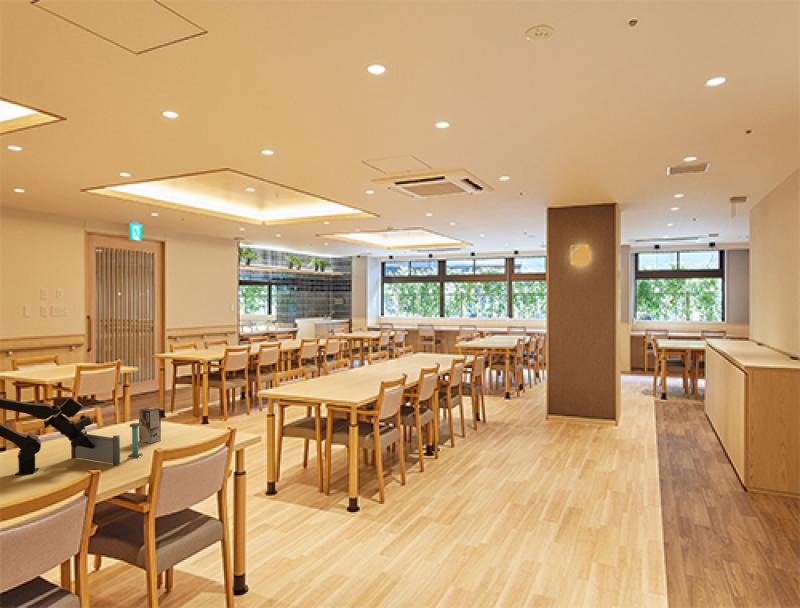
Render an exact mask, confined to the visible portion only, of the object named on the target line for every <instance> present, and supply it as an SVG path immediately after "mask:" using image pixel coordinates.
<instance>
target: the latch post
mask: <svg viewBox="0 0 800 608" xmlns="http://www.w3.org/2000/svg"><path fill="white" fill-rule="evenodd" d="M139 426H140V423H139V422H133V423H130V424H129V428H131V436H132V437H131V438H132V439H131V442H132V443H131V445H132V446H131V448H132V449H131V451H132V452H131V453H130V454H128V455H127V457H139V456H141V455H142V456H143V453H140V452H139ZM142 456H141V457H142ZM139 458H140V457H139Z"/></svg>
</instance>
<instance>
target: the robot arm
mask: <svg viewBox="0 0 800 608" xmlns="http://www.w3.org/2000/svg"><path fill="white" fill-rule="evenodd" d="M83 408H84V405H83V404H81V403H80V402H79V401H78V400H75V399H74V398H72V397H71V396H70V397H68V398H67V400H66V401H65V402H64V403H63V404H61V405H52V404H50V403H46V402H31V403H30V402H26V401H25V402H24V401H20V400H13V399H8V398H3V397H0V410H6V411H10V412H17V413H23V414H27V415H29V416H31V417H34V418H37V419H39V420H43V423H44V425H43V426H44V429H46V428H48V427H49V426H51V427H52V428H53V429H55V430H56V431H58V432H59V433H60V435H61V436H65V437H66V438H67V439H68V441H70V447H71V446H72V447H74V448H76V447H77V446H81V447H86V448H91V449H94V448H95V446H94V445H93V444H92V442H91V441H90V440H89V439H88V437H87V434H88V432H87V430H86V427H87V426H90V425H92V424H93V420H92V419H91V417H90V416H89V415H85V414H82V415H81V416H79V419H78V420H76V421H74V420H70V419H69V418H74V417H75V416H76V415H77V414H78V413H79V412H80V411H82V409H83ZM83 430H85V431H84V432H83ZM0 438H3V439H5V440H6V441H9V442H11V443H13V444H14V445H15V446H16V447H17V448H19V450H18V454H17V458H18V463H17V464H18V471H16V472H15V473H14V475H15V476H21V474H23V475H32V474H34V473H36V472H38V470H39V467H36V454H37V453H39V452H40V450H41V447H42V441H41V439H40V438H39V436H37V435H34V433H31V432H28V433H27V434H23V433H20V432H18V431H16V430H15V429H12V428H11V427H8V426H7V425H5V424H2V423H1V422H0Z"/></svg>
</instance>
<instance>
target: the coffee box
mask: <svg viewBox="0 0 800 608" xmlns="http://www.w3.org/2000/svg"><path fill="white" fill-rule="evenodd" d="M161 416H162V415H161V408H158V407H157V408H156V407H150V406H149V407H143V408H140V409H138V423H140V426H138V442H141V441H142V442H141V443H146V442H148V443H147V444H153V442H154V443H156V442H160V441H162V429H161V428H162V427H161V423H162V422H161V420H162V418H161Z"/></svg>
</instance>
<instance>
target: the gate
mask: <svg viewBox="0 0 800 608" xmlns="http://www.w3.org/2000/svg"><path fill="white" fill-rule="evenodd" d="M87 437H88V439H89V440H90V441H91V442H92V444H93V445H94V446H95V448H94V449H91V448H86V447H81V446H77V447H76V448H74V447H72V446H71V445H70V447H71V448H70V450H71V452H70V454H71V455H70V456H71V459H74V458H77V459H82V460H88V461H94V462H99V463H105V464H111V465H114V466H116V465H120V464H121V439H120V437H121V436H120V435H118V434H117V435H116V434H115V435H113V436H112V437H111V436H106V435H105V436H104V435H98V434H91V433H87Z"/></svg>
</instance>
